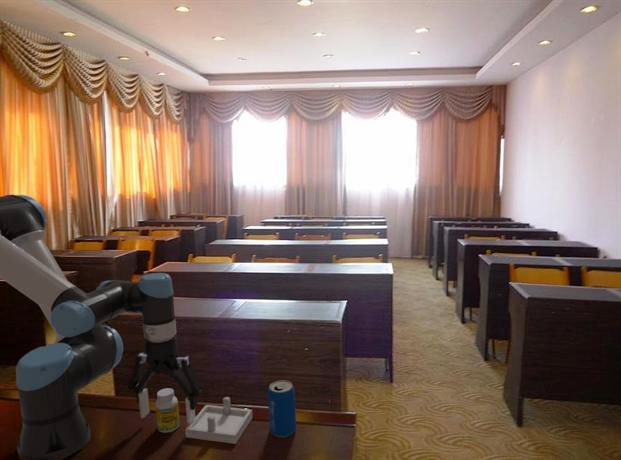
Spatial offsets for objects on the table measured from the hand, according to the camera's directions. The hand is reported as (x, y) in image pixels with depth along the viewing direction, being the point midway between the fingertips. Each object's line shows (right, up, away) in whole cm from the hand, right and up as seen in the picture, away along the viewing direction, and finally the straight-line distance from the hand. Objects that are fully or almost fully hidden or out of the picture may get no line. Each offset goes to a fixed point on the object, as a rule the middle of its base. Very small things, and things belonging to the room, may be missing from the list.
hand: (168, 417), depth 114 cm
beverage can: (+29, -2, -3) cm, 29 cm away
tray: (+13, -2, 0) cm, 13 cm away
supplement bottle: (0, -3, +1) cm, 3 cm away
